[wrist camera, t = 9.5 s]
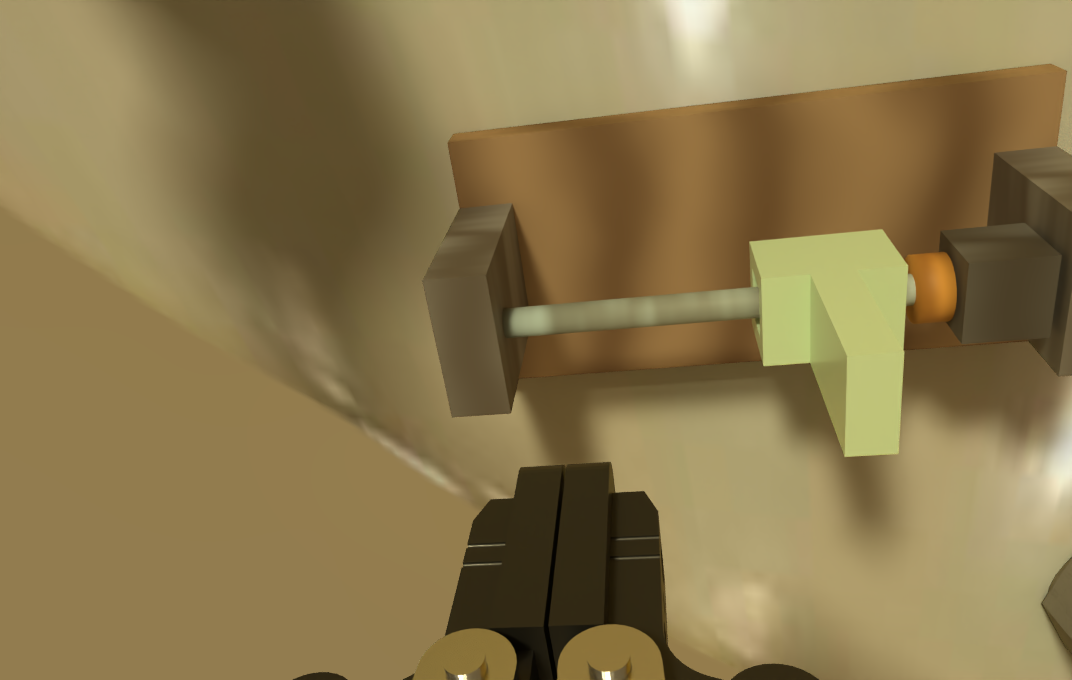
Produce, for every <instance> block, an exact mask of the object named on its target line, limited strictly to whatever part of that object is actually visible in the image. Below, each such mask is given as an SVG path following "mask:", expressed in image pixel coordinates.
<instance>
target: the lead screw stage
mask: <svg viewBox="0 0 1072 680" xmlns="http://www.w3.org/2000/svg"><path fill="white" fill-rule="evenodd" d="M1066 74H1067V71H1066V70H1064V69H1061V68H1059V67H1057V66H1055V65H1052V64H1045V65H1036V66H1028V67H1019V68H1011V69H1002V70H994V71H985V72H977V73H968V74H960V75H951V76H943V77H934V78H926V79H917V80H909V81H900V82H892V83H883V84H875V85H866V86H858V87H849V88H841V89H832V90H824V91H815V92H807V93H798V94H790V95H781V96H773V97H764V98H755V99H747V100H738V101H730V102H721V103H713V104H704V105H696V106H687V107H679V108H670V109H662V110H653V111H645V112H636V113H628V114H619V115H611V116H602V117H594V118H585V119H577V120H568V121H560V122H551V123H543V124H534V125H526V126H517V127H509V128H500V129H492V130H483V131H475V132H466V133H458V134H453V136H452V137H451V139H450V140H449V141H448V148H449V154H450V159H451V164H452V170H453V175H454V180H455V185H456V191H457V196H458V201H459V207H460V209H459V211H458V213H457V215H456V217H455V219H454V221H453V223H452V225H451V226H450V228H449V230H448V232H447V234H446V236H445V238H444V240H443V242H442V244H441V246H440V248H439V250H438V252H437V254H436V255H435V257H434V259H433V261H432V263H431V265H430V267H429V269H428V271H427V273H426V275H425V277H424V279H423V286H424V291H425V295H426V300H427V304H428V309H429V314H430V318H431V323H432V327H433V332H434V337H435V341H436V346H437V350H438V355H439V360H440V364H441V369H442V373H443V378H444V383H445V387H446V392H447V396H448V401H449V406H450V410H451V415H452V417H465V416H479V415H494V414H509V413H511V410H512V406H513V402H514V397H515V393H516V388H517V384H518V379H519V378H532V377H546V376H559V375H573V374H587V373H600V372H614V371H627V370H641V369H655V368H668V367H682V366H695V365H709V364H723V363H736V362H750V361H762V359H761V355H760V352H759V348H758V344H757V341H756V337H755V333H754V329H753V326H752V318H760V313H759V288H758V287H751V281H750V248H749V242H750V241H761V240H772V239H782V238H793V237H804V236H814V235H825V234H836V233H846V232H857V231H868V230H879V229H882V230H883V231H884V232H885V234H886V235H887V237H888V238H889V239H890V241H891V242H892V244H893V245H894V246H895V248H896V249H897V251H898V252H899V253H900V255H901V256H902V258H903V259H904V261H905V262H906V263H907V265H908V280H907V297H906V314H905V331H904V348H903V350H913V349H927V348H940V347H954V346H967V345H981V344H995V343H1008V342H1022V341H1029V342H1030V343H1031V345H1032V346H1033V347H1034V348H1035V349H1036V350H1037V352H1038V353H1039V354H1040V355H1041V356H1042V357H1043V359H1044V360H1045V361H1046V362H1047V363H1048V365H1049V366H1050V367H1051V368H1052V369H1053V370H1054V372H1055V373H1056V374H1057V375H1058V376H1072V155H1070V154H1068V153H1067V152H1065V151H1064V150H1062V149H1061V148H1059V147H1057V142H1058V134H1059V127H1060V119H1061V112H1062V104H1063V97H1064V89H1065V82H1066Z"/></svg>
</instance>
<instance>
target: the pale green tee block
mask: <svg viewBox="0 0 1072 680" xmlns="http://www.w3.org/2000/svg"><path fill="white" fill-rule="evenodd" d="M749 248H750V281H751V287H758V288H759V313H760V318H752V326H753V329H754V333H755V337H756V341H757V344H758V348H759V352H760V355H761V359H762V363H763V366H773V365H787V364H801V363H810V364H811V366H812V369H813V372H814V375H815V377H816V380H817V383H818V386H819V388H820V391H821V394H822V396H823V399H824V402H825V405H826V407H827V410H828V413H829V416H830V418H831V421H832V424H833V426H834V429H835V432H836V435H837V437H838V440H839V443H840V446H841V448H842V451H843V454H844V456H845V457H852V456H870V455H887V454H898V452H899V435H900V418H901V401H902V384H903V367H904V351H903V348H904V331H905V314H906V297H907V280H908V265H907V263H906V262H905V261H904V259H903V258H902V256H901V255H900V253H899V252H898V251H897V249H896V248H895V246H894V245H893V244H892V242H891V241H890V239H889V238H888V237H887V235H886V234H885V232H884V231H883V230H882V229H879V230H868V231H857V232H846V233H836V234H825V235H814V236H804V237H793V238H782V239H772V240H761V241H750V242H749Z"/></svg>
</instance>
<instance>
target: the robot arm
mask: <svg viewBox="0 0 1072 680" xmlns="http://www.w3.org/2000/svg"><path fill="white" fill-rule="evenodd" d="M293 680H347V679H346V678H344V677H343V676H340V675H338V674H333V673H329V672H319V673H312V674H307V675H303V676H301V677H298V678H296V679H293ZM403 680H722V679H718V678H714V677H710V676H707V675H704V674H701V673H699V672H696V671H694V670H692V669H690V668H689V667H687V666H686V665H684V664H683V663H682V662H681V661H679V660H678V659H677V658H676V657H675V656H674V655H673V653H672V652H671V651H670V649H669V647H668V638H667V617H666V596H665V578H664V568H663V558H662V547H661V537H660V526H659V516H658V511H657V509H656V508H655V506H654V505H653V503H652V502H651V500H650V499H649V498H648V496H647V495H646V493H645V492H644V491H640V492H621V493H615V486H614V478H613V470H612V465H611V462H603V463H586V464H568V465H567V466H566V468H565V466H564V465H554V466H537V467H521V468H520V470H519V474H518V479H517V485H516V490H515V495H514V498H510V499H491V500H490V501H489V502H488V503H487V505H486V506H485V507H484V508H483V509H482V511H481V512H480V513H479V515H477V517H476V518H475V519H474V521H473V524H472V528H471V532H470V536H469V540H468V548H467V549H466V552H465V556H464V560H463V568H462V569H461V573H460V577H459V581H458V585H457V589H456V593H455V597H454V601H453V605H452V609H451V613H450V617H449V622H448V626H447V630H446V634H445V636H444V637H443V638H441V639H439V640H438V641H437V642H435V643H434V644H433V645H432V646H431V647H430V648H429V649H428V650H427V651H426V652H425V653H424V655H423V656H422V657H421V659H420V661H419V663H418V666H417V669H416V671H415V673H414V674H413V675H411V676H409V677H407V678H405V679H403ZM731 680H819V679H817V678H816V677H814V676H813V675H811V674H810V673H808V672H806V671H804V670H801V669H799V668H796V667H793V666H788V665H783V664H762V665H758V666H753V667H751V668H748V669H745V670H744V671H742V672H740V673H738V674H737V675H736V676H735V677H734V678H733V679H731Z"/></svg>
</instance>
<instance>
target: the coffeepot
mask: <svg viewBox="0 0 1072 680" xmlns="http://www.w3.org/2000/svg"><path fill="white" fill-rule="evenodd" d="M1042 604H1043V606H1044V608H1045V610H1046V612H1047V614H1048V616H1049V617H1050V619H1051V621H1052V623H1053V625H1054V627H1055V629H1056V631H1057V633H1058V635H1059V636H1060V638H1061V640H1062V642H1063V644H1064V645H1065V647H1066V648H1067V649H1068V650H1069V651H1070V653H1071V654H1072V558H1071V559H1070V560H1069V561H1068V562H1067V563H1065V564H1064V566H1063V567H1062V568H1061V569H1060V570H1059V572H1058V573H1057V574H1056V575H1055V577H1054V579H1053V581H1052V583H1051V585H1050V587H1049V591H1048V595H1047V596H1046V598H1045V599H1044V601H1043V602H1042Z"/></svg>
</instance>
